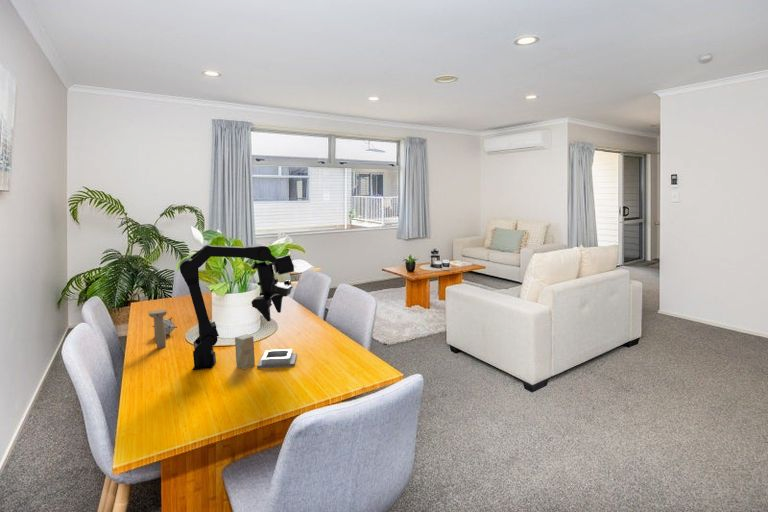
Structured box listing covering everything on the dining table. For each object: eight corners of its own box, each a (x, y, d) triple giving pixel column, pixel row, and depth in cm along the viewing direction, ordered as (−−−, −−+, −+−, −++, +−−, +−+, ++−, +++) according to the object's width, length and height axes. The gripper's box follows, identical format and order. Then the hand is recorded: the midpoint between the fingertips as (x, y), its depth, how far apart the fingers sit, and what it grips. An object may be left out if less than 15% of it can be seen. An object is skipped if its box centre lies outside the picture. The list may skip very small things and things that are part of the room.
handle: (169, 347, 172) (166, 312, 170) (151, 350, 170) (148, 314, 168) (170, 343, 177) (167, 309, 175) (153, 346, 174) (149, 311, 172)
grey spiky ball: (162, 343, 189) (154, 323, 191) (181, 333, 192) (173, 314, 194) (156, 339, 181) (147, 319, 183) (176, 330, 183) (167, 310, 186)
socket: (257, 368, 150) (256, 360, 150) (262, 357, 160) (261, 350, 160) (294, 366, 152) (293, 358, 151) (297, 355, 161) (296, 348, 161)
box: (243, 369, 149) (241, 339, 148) (236, 367, 152) (233, 337, 150) (255, 364, 154) (253, 335, 152) (248, 362, 156) (246, 333, 154)
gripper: (275, 283, 149) (283, 324, 152) (296, 269, 166) (302, 307, 170) (247, 285, 151) (255, 326, 154) (270, 271, 169) (277, 308, 172)
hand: (274, 316), depth 162 cm, fingers open, 9 cm apart
